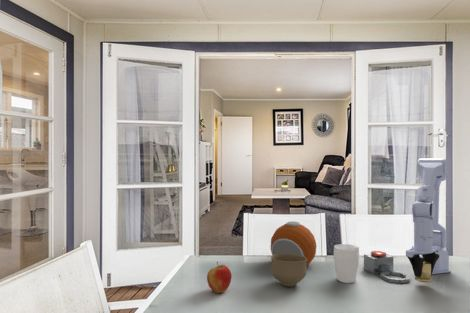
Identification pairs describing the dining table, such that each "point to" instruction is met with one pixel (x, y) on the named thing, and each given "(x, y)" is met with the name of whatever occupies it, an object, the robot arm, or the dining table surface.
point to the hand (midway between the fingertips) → (423, 275)
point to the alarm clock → (294, 241)
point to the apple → (219, 278)
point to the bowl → (288, 268)
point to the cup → (346, 262)
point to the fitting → (425, 273)
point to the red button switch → (383, 267)
